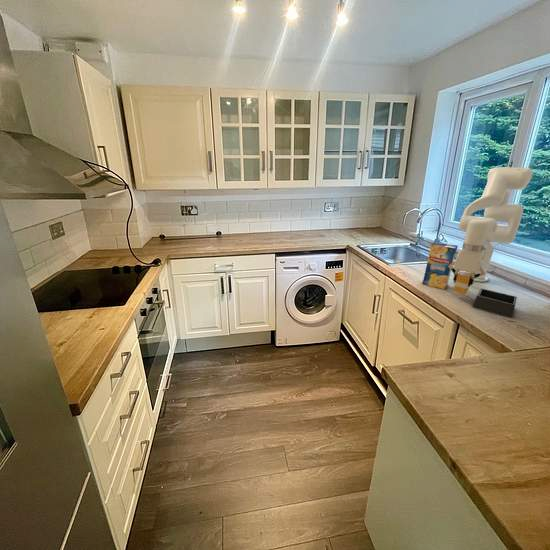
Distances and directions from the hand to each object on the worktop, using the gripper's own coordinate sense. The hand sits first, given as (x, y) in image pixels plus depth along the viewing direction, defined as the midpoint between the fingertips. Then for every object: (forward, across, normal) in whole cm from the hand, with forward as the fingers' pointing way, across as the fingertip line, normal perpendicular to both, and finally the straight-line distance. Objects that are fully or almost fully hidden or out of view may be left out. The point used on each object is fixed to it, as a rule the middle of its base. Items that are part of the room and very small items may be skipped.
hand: (462, 283), depth 136 cm
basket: (+7, -14, +1) cm, 16 cm away
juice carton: (+4, 0, 0) cm, 4 cm away
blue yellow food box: (+8, +13, -10) cm, 18 cm away
